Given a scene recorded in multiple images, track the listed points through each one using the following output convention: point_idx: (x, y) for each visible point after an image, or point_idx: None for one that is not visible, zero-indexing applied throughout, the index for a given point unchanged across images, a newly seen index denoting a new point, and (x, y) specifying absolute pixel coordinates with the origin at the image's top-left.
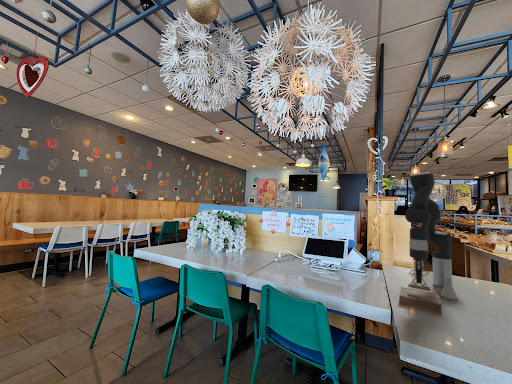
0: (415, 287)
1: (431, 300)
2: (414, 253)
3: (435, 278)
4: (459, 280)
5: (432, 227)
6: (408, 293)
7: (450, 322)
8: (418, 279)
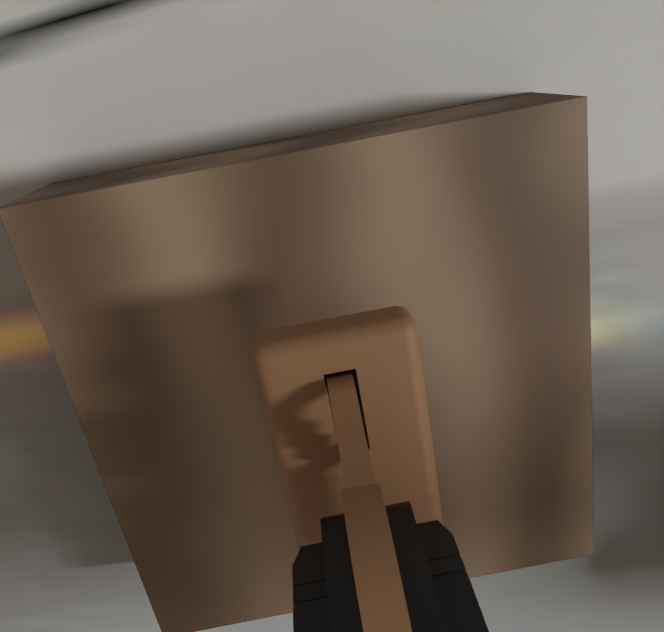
0: (275, 447)
1: (234, 546)
2: None
3: None
4: None
5: None
6: (269, 285)
7: (32, 626)
8: (298, 623)
